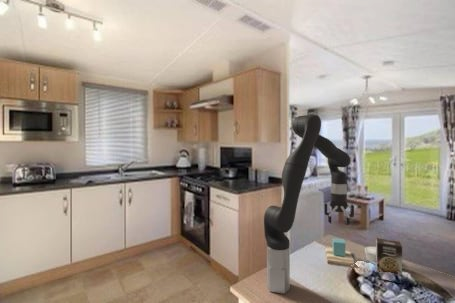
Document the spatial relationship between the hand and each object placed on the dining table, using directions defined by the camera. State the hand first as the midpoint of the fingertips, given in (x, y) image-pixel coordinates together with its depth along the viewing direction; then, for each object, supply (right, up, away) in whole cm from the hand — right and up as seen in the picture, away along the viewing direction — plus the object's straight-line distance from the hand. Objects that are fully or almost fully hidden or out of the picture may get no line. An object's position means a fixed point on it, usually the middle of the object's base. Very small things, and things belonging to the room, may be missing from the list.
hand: (338, 223), depth 122 cm
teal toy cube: (0, -15, 0) cm, 15 cm away
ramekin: (+18, -18, -3) cm, 26 cm away
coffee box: (+13, -18, -18) cm, 29 cm away
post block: (0, -18, +1) cm, 18 cm away
